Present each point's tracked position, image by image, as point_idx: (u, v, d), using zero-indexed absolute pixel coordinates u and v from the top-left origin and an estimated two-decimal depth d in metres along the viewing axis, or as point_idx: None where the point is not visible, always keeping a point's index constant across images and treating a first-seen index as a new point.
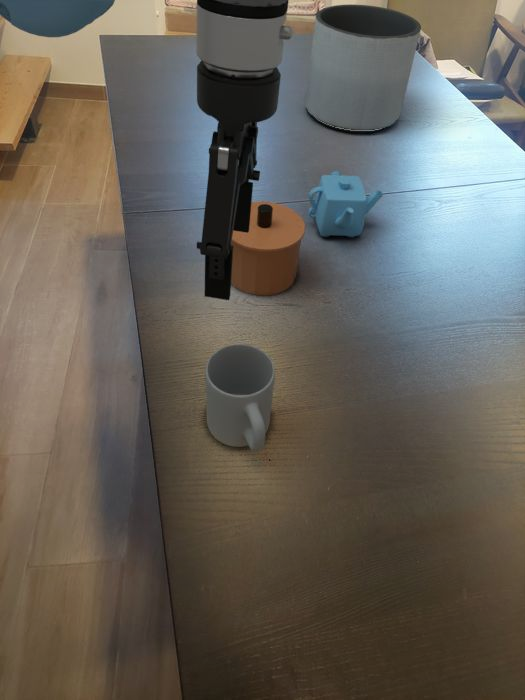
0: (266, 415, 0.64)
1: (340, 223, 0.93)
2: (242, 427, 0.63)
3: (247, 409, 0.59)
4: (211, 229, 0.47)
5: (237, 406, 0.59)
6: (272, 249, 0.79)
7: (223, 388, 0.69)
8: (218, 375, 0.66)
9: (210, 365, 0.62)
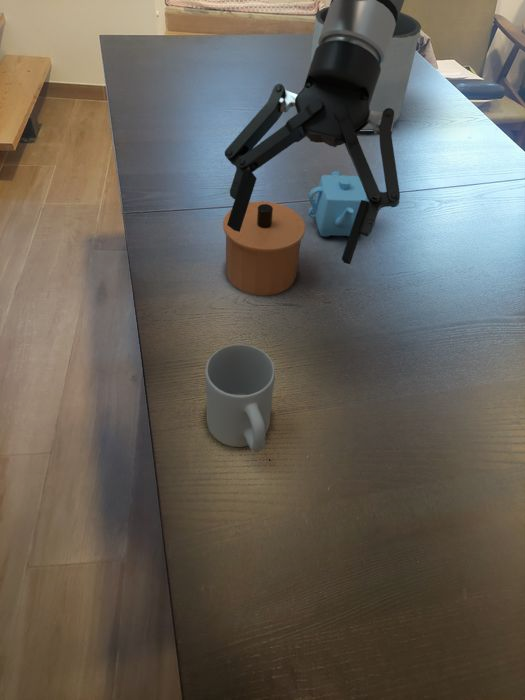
0: (266, 415, 0.64)
1: (340, 223, 0.93)
2: (242, 427, 0.63)
3: (247, 409, 0.59)
4: None
5: (237, 406, 0.59)
6: (272, 249, 0.79)
7: (223, 388, 0.69)
8: (218, 375, 0.66)
9: (210, 365, 0.62)
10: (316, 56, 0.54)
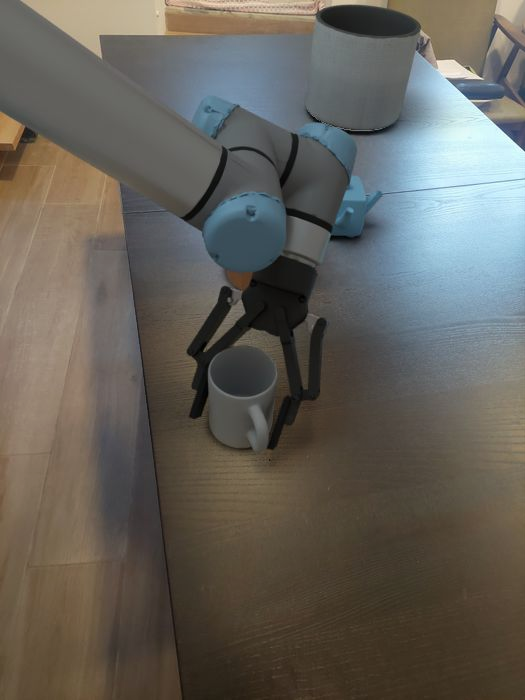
0: (269, 416, 0.64)
1: (340, 223, 0.93)
2: (245, 429, 0.63)
3: (250, 411, 0.59)
4: (319, 379, 0.60)
5: (240, 408, 0.59)
6: None
7: (226, 389, 0.69)
8: (220, 376, 0.66)
9: (213, 367, 0.62)
10: None
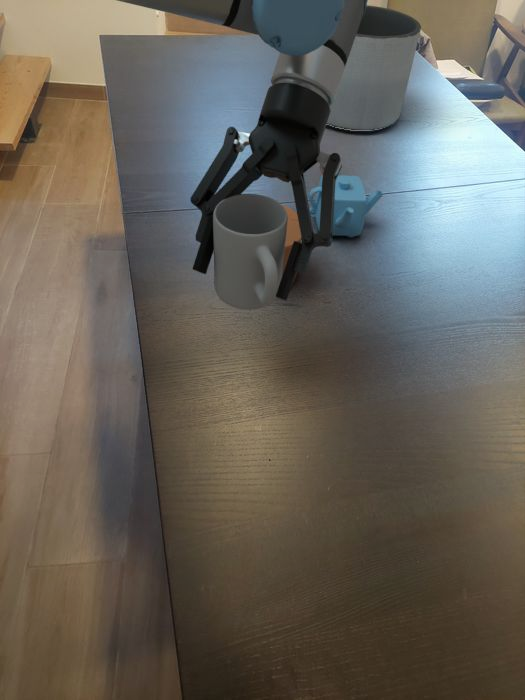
0: (278, 271, 0.60)
1: (340, 223, 0.93)
2: (252, 280, 0.59)
3: (258, 252, 0.55)
4: (331, 221, 0.57)
5: (248, 249, 0.56)
6: None
7: None
8: None
9: (218, 212, 0.58)
10: (267, 97, 0.56)
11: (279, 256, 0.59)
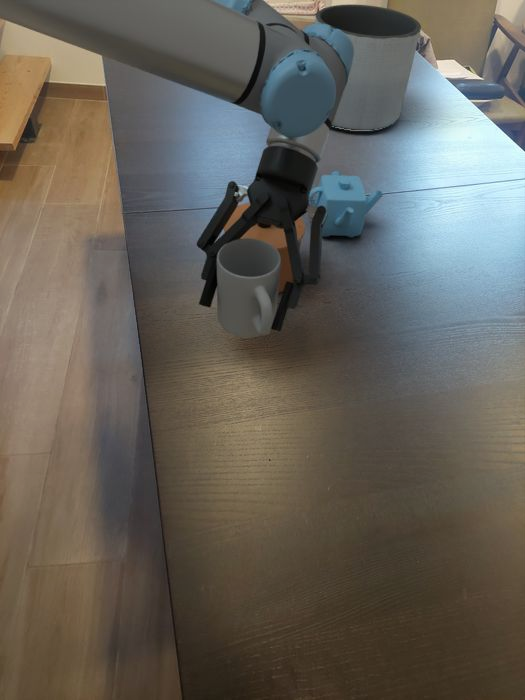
0: (273, 305, 0.69)
1: (340, 223, 0.93)
2: (251, 314, 0.68)
3: (256, 291, 0.64)
4: (319, 264, 0.66)
5: (246, 289, 0.64)
6: None
7: None
8: (228, 270, 0.71)
9: (221, 255, 0.67)
10: (263, 157, 0.65)
11: (274, 293, 0.68)
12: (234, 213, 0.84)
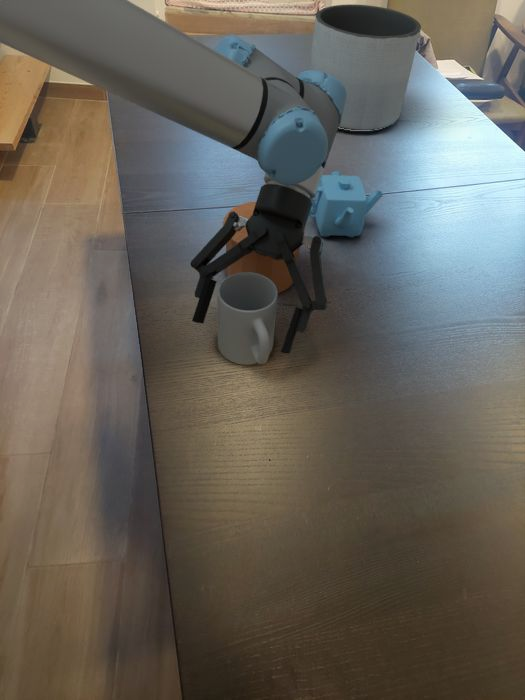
0: (270, 334, 0.74)
1: (340, 223, 0.93)
2: (249, 343, 0.72)
3: (254, 324, 0.69)
4: (323, 290, 0.69)
5: (245, 321, 0.69)
6: None
7: None
8: (228, 301, 0.75)
9: (221, 289, 0.71)
10: (261, 194, 0.69)
11: (271, 324, 0.72)
12: None
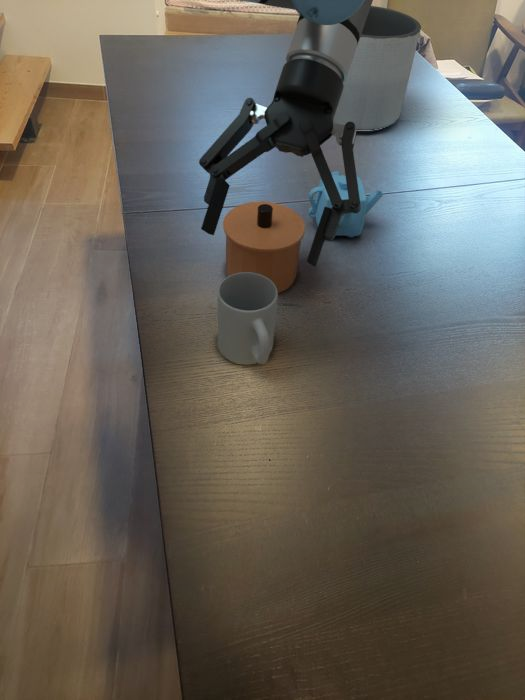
0: (270, 334, 0.74)
1: (340, 223, 0.93)
2: (249, 343, 0.72)
3: (254, 323, 0.69)
4: None
5: (245, 321, 0.69)
6: (272, 249, 0.79)
7: None
8: (228, 301, 0.75)
9: (221, 289, 0.71)
10: (283, 73, 0.58)
11: (271, 324, 0.72)
12: (234, 213, 0.84)
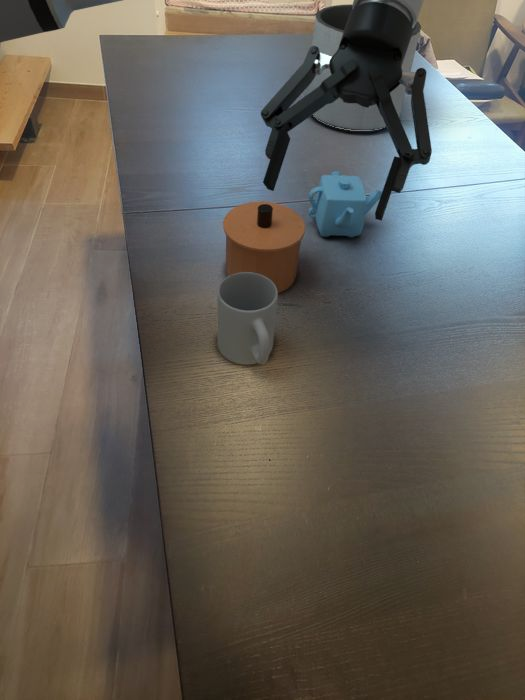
0: (270, 334, 0.74)
1: (340, 223, 0.93)
2: (249, 343, 0.72)
3: (254, 324, 0.69)
4: None
5: (245, 321, 0.69)
6: (272, 249, 0.79)
7: None
8: (228, 301, 0.75)
9: (221, 289, 0.71)
10: (351, 18, 0.56)
11: (271, 324, 0.72)
12: (234, 213, 0.84)
